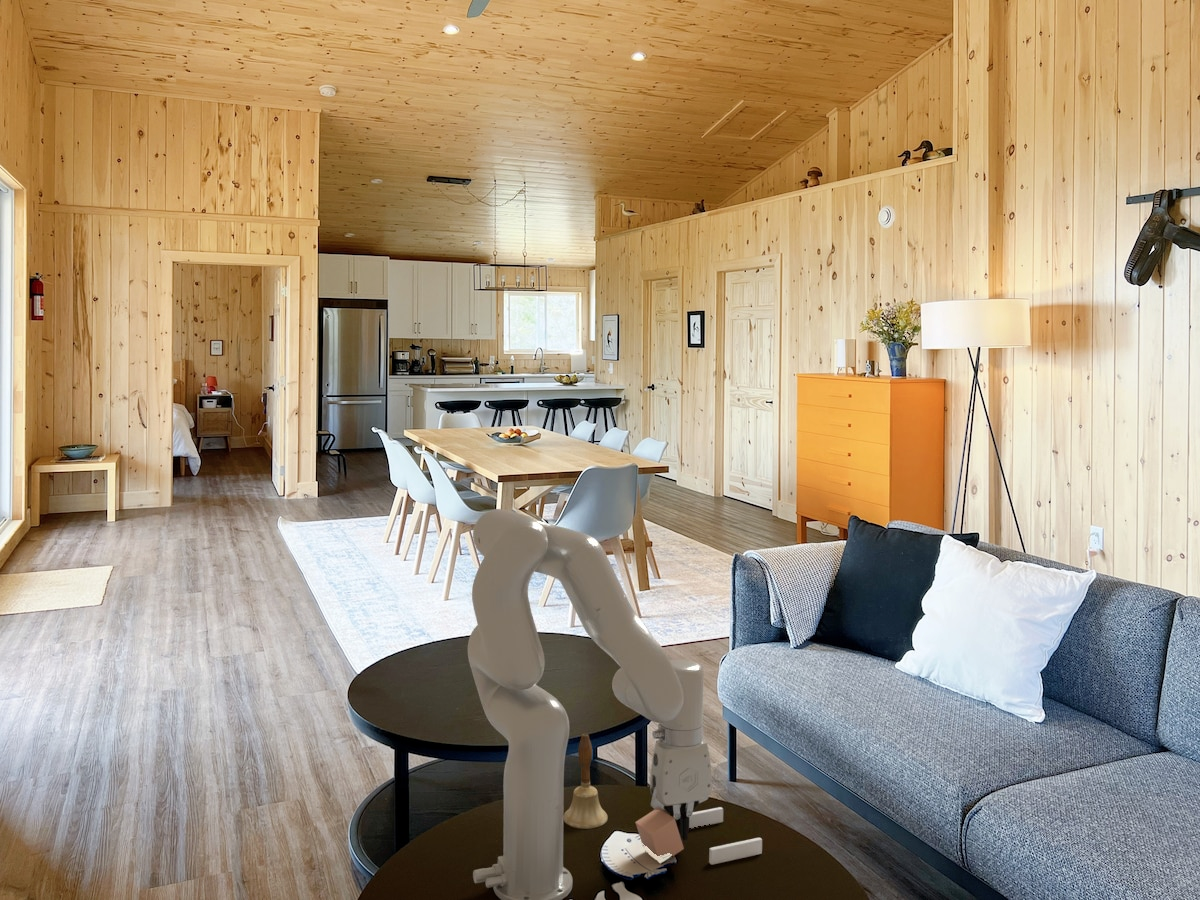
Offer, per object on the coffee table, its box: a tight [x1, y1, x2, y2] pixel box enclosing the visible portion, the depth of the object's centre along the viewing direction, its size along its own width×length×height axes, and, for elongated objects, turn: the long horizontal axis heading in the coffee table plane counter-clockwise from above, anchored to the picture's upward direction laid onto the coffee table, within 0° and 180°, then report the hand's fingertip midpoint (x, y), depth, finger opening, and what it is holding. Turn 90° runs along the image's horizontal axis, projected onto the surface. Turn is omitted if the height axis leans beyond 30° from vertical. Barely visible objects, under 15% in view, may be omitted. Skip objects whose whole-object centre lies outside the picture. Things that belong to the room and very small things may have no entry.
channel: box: [689, 806, 763, 866], centre depth 162 cm, size 10×14×2 cm
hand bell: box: [563, 733, 609, 830], centre depth 170 cm, size 8×8×16 cm
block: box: [634, 809, 685, 857], centre depth 156 cm, size 5×5×6 cm
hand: (679, 837), depth 159 cm, fingers closed
